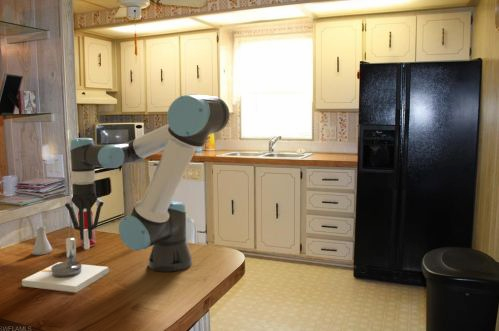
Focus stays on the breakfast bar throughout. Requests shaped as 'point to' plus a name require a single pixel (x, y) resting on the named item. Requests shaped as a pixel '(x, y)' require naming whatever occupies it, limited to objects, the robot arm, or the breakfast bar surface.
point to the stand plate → (66, 279)
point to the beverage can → (93, 240)
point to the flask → (41, 243)
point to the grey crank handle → (68, 262)
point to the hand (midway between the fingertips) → (87, 247)
